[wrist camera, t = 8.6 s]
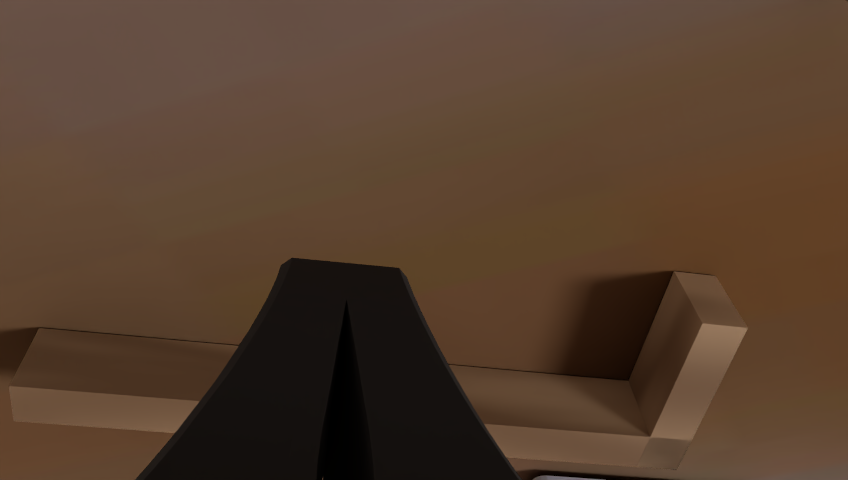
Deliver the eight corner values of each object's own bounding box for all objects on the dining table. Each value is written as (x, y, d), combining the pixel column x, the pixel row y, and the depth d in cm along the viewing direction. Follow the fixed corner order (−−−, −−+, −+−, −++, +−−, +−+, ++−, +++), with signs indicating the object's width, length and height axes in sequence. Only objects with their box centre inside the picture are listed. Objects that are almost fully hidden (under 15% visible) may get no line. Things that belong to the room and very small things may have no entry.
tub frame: (653, 413, 25) (677, 470, 23) (42, 362, 22) (13, 420, 20) (977, -303, 15) (1063, -305, 13) (-54, -546, 12) (-127, -590, 10)
